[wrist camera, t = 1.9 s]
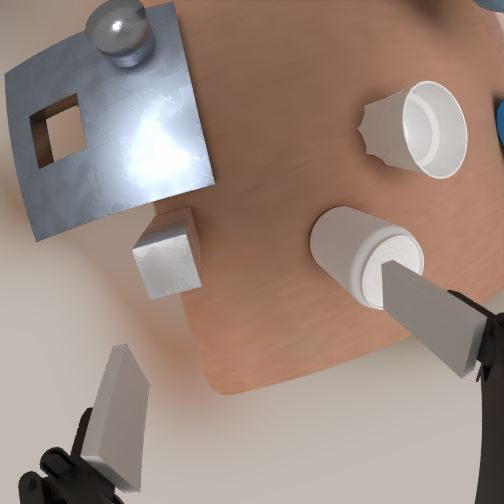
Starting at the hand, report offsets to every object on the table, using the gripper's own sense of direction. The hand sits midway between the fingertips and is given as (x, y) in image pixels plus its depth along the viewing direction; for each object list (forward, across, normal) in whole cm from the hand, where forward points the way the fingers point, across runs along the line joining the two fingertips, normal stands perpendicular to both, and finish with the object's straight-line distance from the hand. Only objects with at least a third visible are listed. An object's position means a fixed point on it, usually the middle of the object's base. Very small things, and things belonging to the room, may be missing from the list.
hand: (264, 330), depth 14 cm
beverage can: (+20, +13, -5) cm, 24 cm away
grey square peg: (+20, -5, +2) cm, 21 cm away
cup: (+20, +22, +7) cm, 31 cm away
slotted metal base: (+20, -9, +16) cm, 27 cm away
